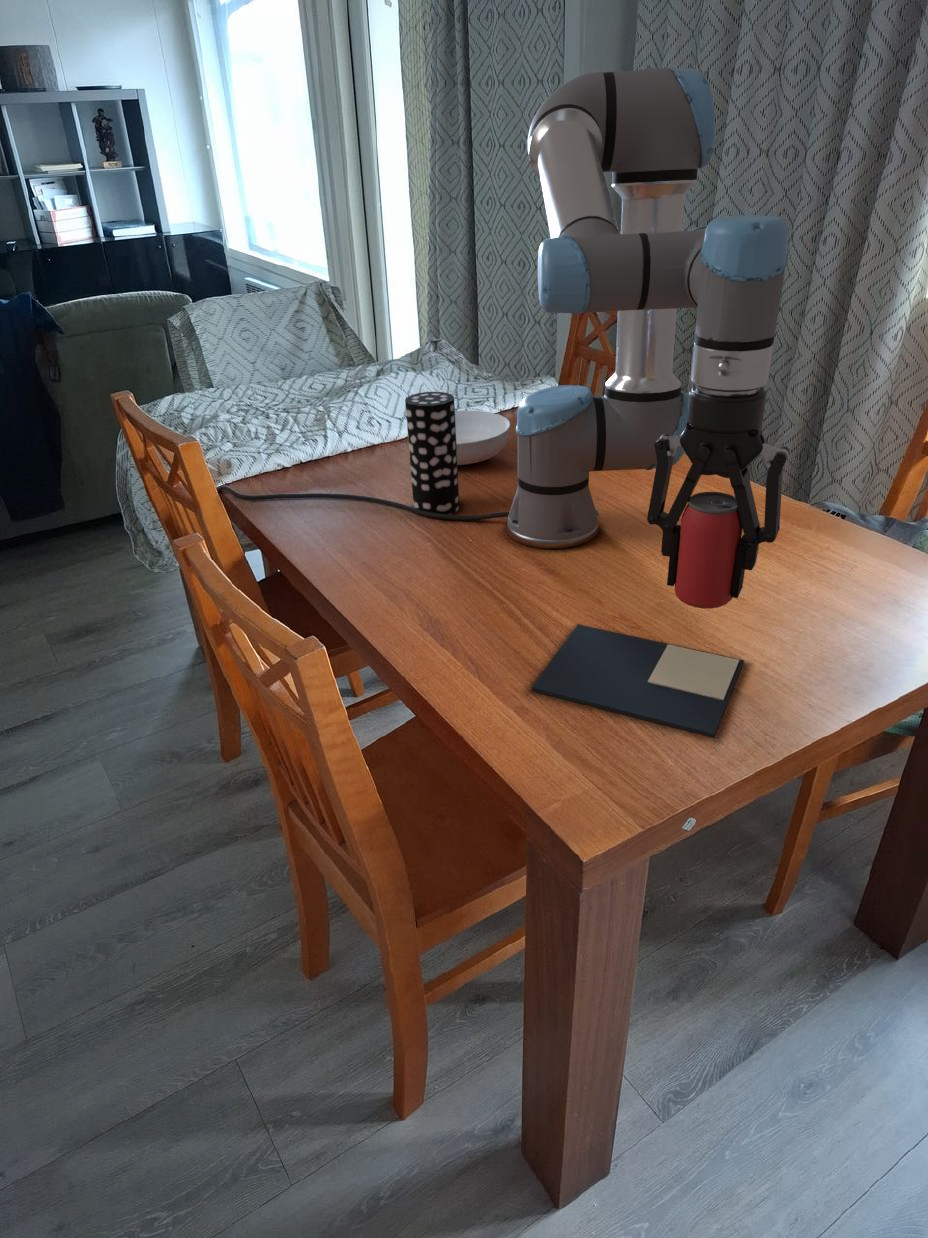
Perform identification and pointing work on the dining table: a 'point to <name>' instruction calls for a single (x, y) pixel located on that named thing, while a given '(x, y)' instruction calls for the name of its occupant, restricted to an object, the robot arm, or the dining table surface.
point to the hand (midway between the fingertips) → (704, 586)
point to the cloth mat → (642, 679)
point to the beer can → (708, 550)
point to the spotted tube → (433, 451)
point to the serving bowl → (479, 435)
